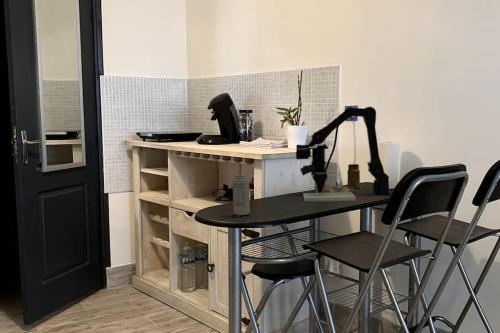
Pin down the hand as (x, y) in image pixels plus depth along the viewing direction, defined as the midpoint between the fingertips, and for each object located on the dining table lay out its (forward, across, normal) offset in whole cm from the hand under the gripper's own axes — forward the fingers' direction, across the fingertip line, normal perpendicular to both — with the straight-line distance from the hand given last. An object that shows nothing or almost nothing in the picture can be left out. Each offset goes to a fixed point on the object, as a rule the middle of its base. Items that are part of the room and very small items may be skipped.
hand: (319, 192), depth 232 cm
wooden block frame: (+1, 0, +6) cm, 6 cm away
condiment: (+1, -20, +18) cm, 27 cm away
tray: (+1, +14, +3) cm, 14 cm away
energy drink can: (+1, +49, -32) cm, 59 cm away
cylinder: (+1, 0, +9) cm, 9 cm away
